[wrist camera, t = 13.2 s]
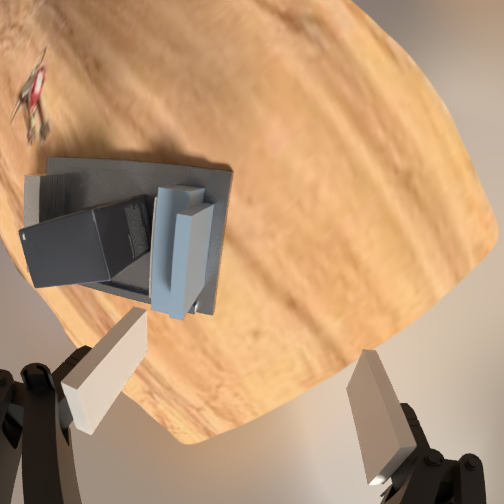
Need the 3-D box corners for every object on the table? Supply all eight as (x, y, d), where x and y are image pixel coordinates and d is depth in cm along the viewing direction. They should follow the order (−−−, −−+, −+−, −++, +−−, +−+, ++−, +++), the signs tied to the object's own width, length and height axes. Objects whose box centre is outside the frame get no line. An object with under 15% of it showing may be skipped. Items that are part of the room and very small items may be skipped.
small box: (87, 261, 33) (32, 292, 23) (75, 210, 31) (15, 228, 21) (158, 250, 32) (110, 285, 21) (146, 192, 30) (90, 204, 20)
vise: (52, 157, 31) (21, 158, 25) (233, 171, 30) (222, 171, 24) (51, 269, 35) (24, 284, 29) (214, 311, 34) (202, 338, 28)
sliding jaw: (173, 183, 29) (138, 189, 22) (216, 189, 29) (194, 196, 21) (164, 289, 33) (134, 322, 25) (203, 298, 32) (181, 334, 25)
